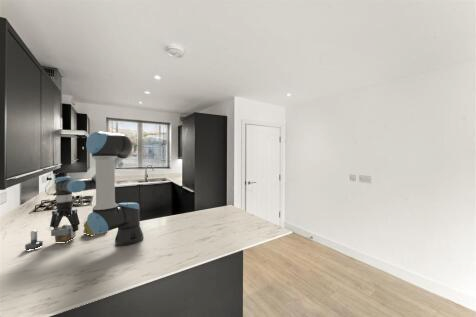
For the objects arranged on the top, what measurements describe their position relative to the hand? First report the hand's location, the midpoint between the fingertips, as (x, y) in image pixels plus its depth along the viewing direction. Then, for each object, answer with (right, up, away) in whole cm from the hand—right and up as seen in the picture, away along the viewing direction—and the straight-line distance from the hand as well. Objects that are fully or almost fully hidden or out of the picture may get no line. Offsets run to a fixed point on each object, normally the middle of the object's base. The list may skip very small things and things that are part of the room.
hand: (65, 237), depth 121 cm
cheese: (+10, -3, +13) cm, 17 cm away
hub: (-10, -3, -9) cm, 14 cm away
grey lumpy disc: (0, +3, 0) cm, 3 cm away
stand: (0, -3, 0) cm, 3 cm away
